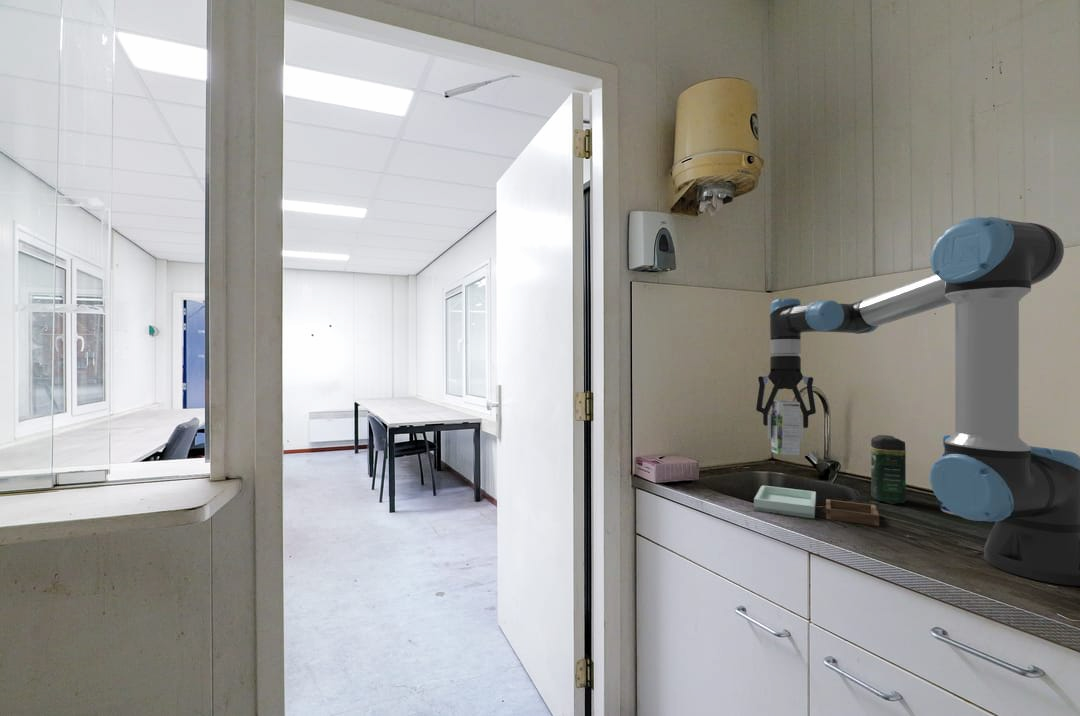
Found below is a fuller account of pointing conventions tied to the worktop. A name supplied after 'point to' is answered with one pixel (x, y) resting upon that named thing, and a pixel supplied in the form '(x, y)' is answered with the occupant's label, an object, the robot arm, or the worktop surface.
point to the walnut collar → (852, 512)
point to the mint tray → (786, 501)
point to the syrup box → (785, 427)
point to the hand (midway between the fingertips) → (785, 438)
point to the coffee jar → (888, 469)
